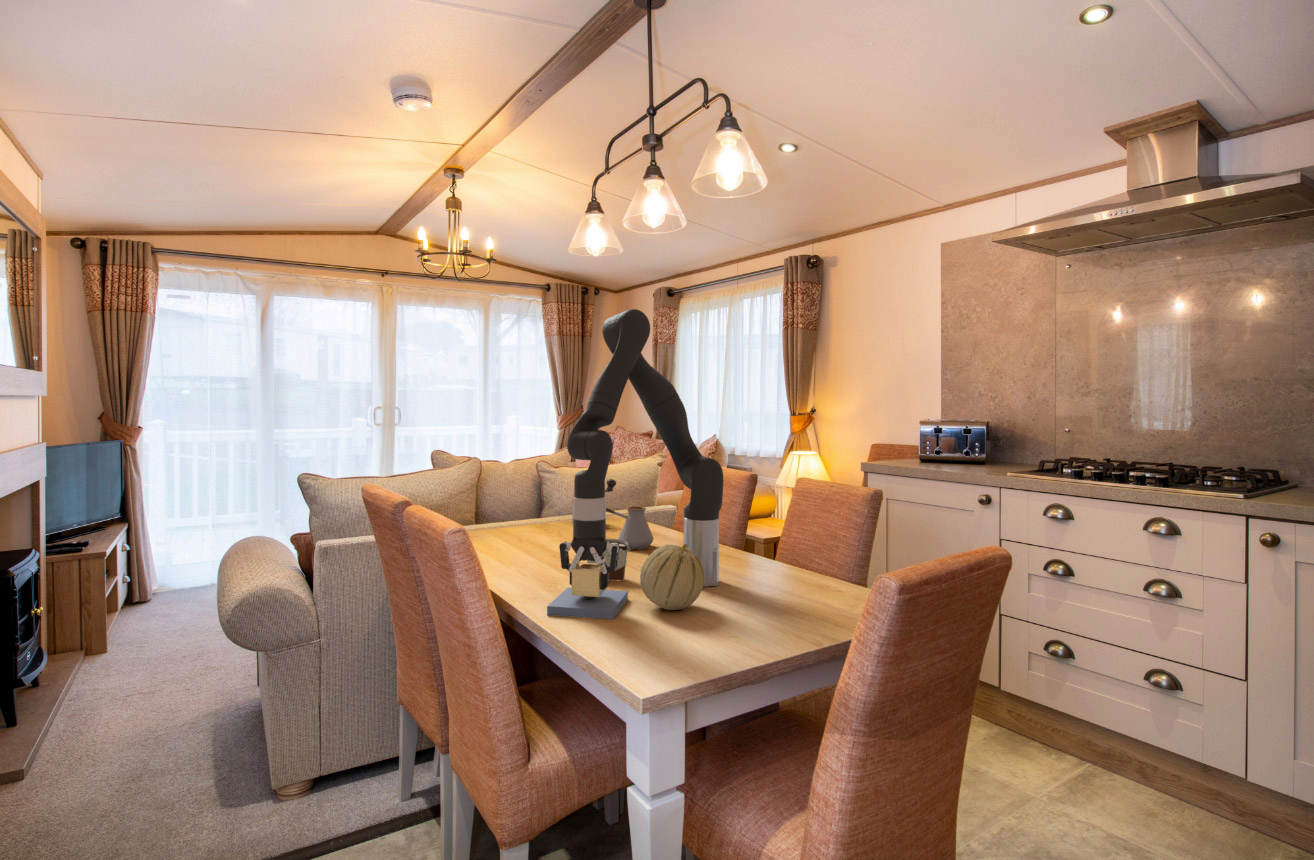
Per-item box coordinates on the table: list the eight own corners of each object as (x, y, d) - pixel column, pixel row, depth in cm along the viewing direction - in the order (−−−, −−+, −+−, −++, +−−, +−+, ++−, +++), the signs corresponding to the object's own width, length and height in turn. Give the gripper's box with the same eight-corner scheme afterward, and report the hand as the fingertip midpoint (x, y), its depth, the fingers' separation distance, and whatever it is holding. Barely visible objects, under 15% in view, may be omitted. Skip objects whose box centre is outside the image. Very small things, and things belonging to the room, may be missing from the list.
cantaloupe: (630, 602, 158) (631, 539, 157) (686, 596, 164) (687, 535, 163) (655, 622, 144) (656, 553, 144) (715, 614, 150) (716, 548, 149)
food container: (632, 575, 183) (632, 539, 182) (629, 581, 176) (629, 543, 176) (588, 573, 184) (588, 537, 183) (583, 579, 178) (583, 542, 177)
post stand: (627, 599, 160) (628, 565, 160) (612, 619, 146) (612, 582, 145) (567, 595, 163) (567, 562, 163) (547, 614, 148) (547, 578, 148)
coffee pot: (649, 542, 224) (650, 498, 224) (656, 550, 213) (657, 503, 212) (586, 545, 220) (586, 499, 219) (589, 552, 209) (590, 505, 208)
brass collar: (606, 589, 157) (606, 563, 156) (598, 597, 150) (599, 570, 150) (579, 587, 158) (580, 562, 158) (571, 595, 152) (571, 569, 151)
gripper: (623, 514, 156) (623, 585, 156) (564, 512, 158) (564, 582, 159) (616, 520, 148) (615, 594, 149) (554, 517, 151) (554, 590, 152)
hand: (589, 587), depth 154 cm, fingers closed on brass collar, 6 cm apart
